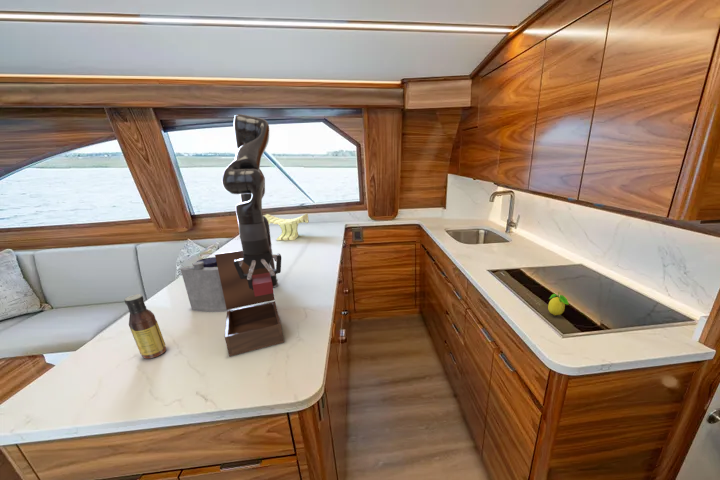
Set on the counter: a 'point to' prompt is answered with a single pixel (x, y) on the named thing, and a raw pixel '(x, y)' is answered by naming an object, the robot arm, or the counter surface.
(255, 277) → the book
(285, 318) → the counter surface
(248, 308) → the chest
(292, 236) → the slatted curved stool
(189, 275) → the hip flask
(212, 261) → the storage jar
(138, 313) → the sauce bottle
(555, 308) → the lemon
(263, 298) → the chest lid
